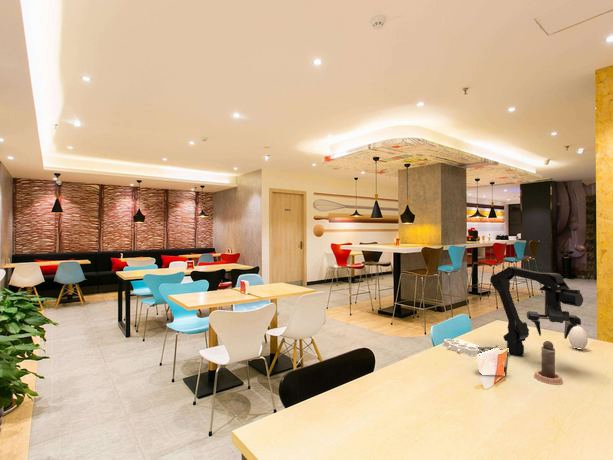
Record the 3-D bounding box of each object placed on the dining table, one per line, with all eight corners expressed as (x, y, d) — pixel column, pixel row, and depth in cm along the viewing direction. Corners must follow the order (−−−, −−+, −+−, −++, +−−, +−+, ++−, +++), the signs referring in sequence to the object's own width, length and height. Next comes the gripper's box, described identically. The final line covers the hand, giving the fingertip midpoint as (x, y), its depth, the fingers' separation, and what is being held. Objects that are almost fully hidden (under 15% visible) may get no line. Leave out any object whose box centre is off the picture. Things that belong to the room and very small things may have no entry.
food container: (502, 370, 144) (502, 347, 144) (510, 376, 138) (510, 352, 138) (472, 368, 145) (473, 345, 145) (478, 375, 139) (478, 350, 139)
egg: (572, 351, 167) (572, 327, 167) (566, 346, 175) (566, 323, 175) (590, 352, 165) (590, 329, 165) (583, 347, 172) (583, 324, 172)
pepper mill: (540, 378, 136) (540, 341, 136) (542, 374, 139) (542, 338, 139) (554, 381, 133) (554, 343, 133) (555, 377, 136) (555, 341, 136)
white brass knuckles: (488, 353, 164) (468, 359, 158) (456, 342, 180) (437, 346, 174) (488, 346, 164) (468, 351, 158) (456, 336, 180) (437, 340, 174)
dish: (536, 381, 133) (536, 377, 133) (531, 372, 142) (531, 368, 142) (566, 386, 129) (566, 381, 129) (559, 376, 138) (559, 372, 138)
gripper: (530, 303, 145) (530, 339, 145) (585, 307, 137) (585, 346, 137) (526, 298, 155) (526, 332, 155) (576, 302, 147) (576, 338, 147)
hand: (552, 337), depth 148 cm, fingers open, 9 cm apart
